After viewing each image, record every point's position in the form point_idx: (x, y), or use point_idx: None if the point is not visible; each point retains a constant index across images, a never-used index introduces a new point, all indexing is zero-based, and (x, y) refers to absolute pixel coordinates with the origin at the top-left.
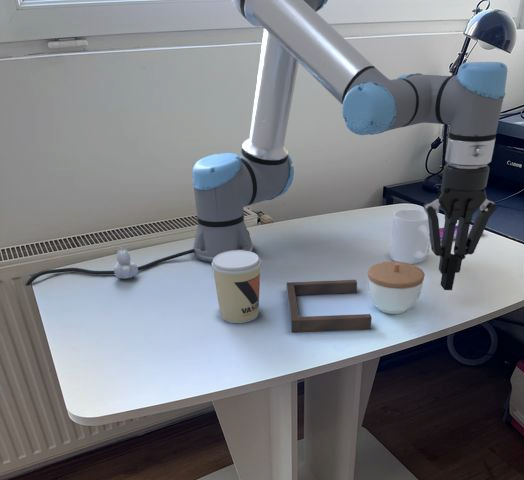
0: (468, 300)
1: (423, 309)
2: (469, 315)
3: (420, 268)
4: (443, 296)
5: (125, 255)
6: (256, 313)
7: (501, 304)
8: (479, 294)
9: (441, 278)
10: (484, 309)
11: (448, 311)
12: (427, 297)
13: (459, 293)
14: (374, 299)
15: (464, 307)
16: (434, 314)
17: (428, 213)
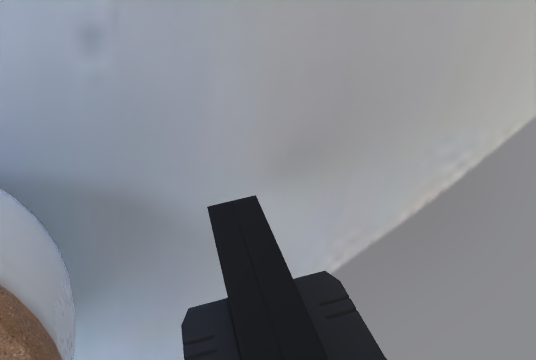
0: (357, 111)
1: (118, 239)
2: (321, 253)
3: (19, 346)
4: (237, 77)
5: None
6: None
7: (486, 134)
8: (434, 31)
9: (213, 233)
10: (398, 192)
11: None
12: (142, 101)
13: (334, 27)
14: None
15: (319, 187)
16: (171, 274)
17: None
